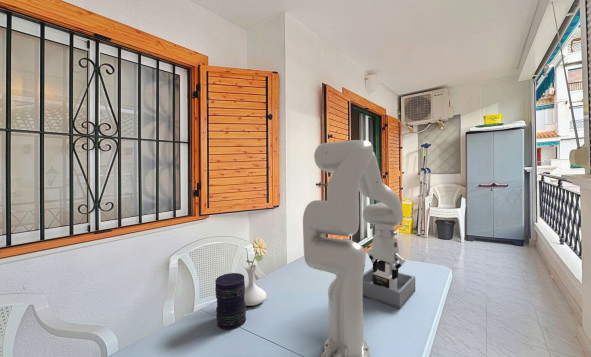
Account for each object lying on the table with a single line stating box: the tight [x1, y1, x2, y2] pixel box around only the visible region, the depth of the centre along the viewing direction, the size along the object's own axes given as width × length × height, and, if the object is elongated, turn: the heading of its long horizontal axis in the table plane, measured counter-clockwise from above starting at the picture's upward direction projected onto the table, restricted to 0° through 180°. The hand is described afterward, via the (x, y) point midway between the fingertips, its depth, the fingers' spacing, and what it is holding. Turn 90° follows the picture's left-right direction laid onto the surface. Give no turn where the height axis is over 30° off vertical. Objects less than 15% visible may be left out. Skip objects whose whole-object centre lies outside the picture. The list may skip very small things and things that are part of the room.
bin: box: [363, 267, 416, 310], centre depth 106 cm, size 18×18×6 cm
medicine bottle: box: [373, 260, 397, 290], centre depth 106 cm, size 7×7×12 cm
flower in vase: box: [244, 236, 269, 307], centre depth 102 cm, size 13×11×25 cm
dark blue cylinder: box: [214, 272, 247, 331], centre depth 89 cm, size 10×10×15 cm
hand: (385, 274), depth 106 cm, fingers open, 8 cm apart
